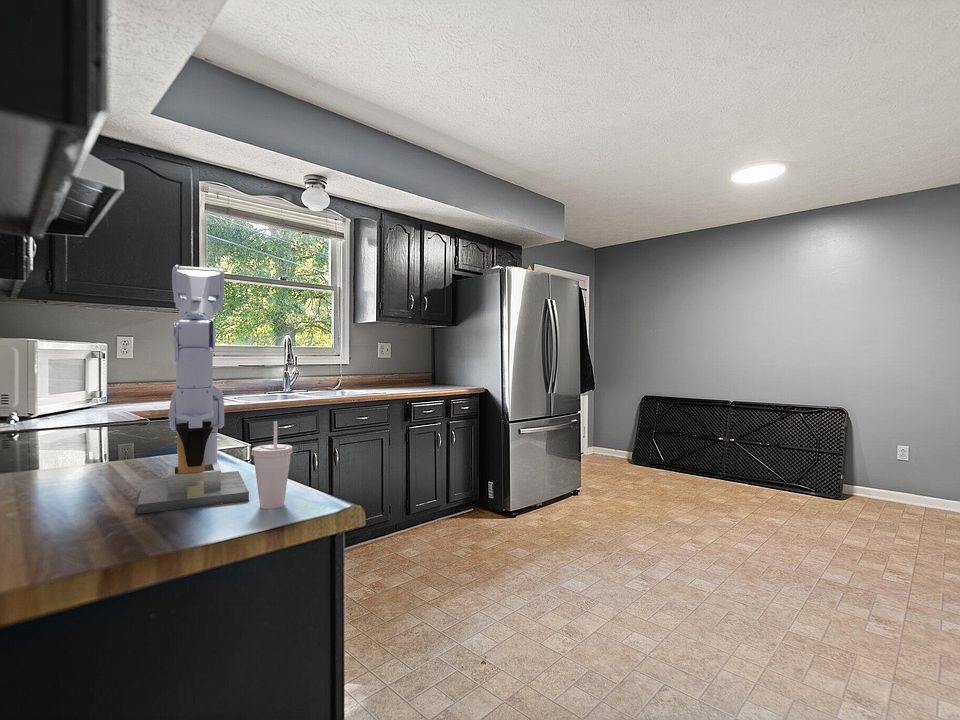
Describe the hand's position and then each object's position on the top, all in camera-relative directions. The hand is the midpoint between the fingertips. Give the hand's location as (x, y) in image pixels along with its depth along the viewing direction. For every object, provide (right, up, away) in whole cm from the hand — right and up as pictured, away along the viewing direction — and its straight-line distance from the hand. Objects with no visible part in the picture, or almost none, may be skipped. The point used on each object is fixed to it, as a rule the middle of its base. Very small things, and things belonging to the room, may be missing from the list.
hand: (194, 463), depth 94 cm
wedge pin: (0, -3, 0) cm, 3 cm away
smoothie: (+16, -6, -7) cm, 19 cm away
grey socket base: (0, -5, 0) cm, 5 cm away
